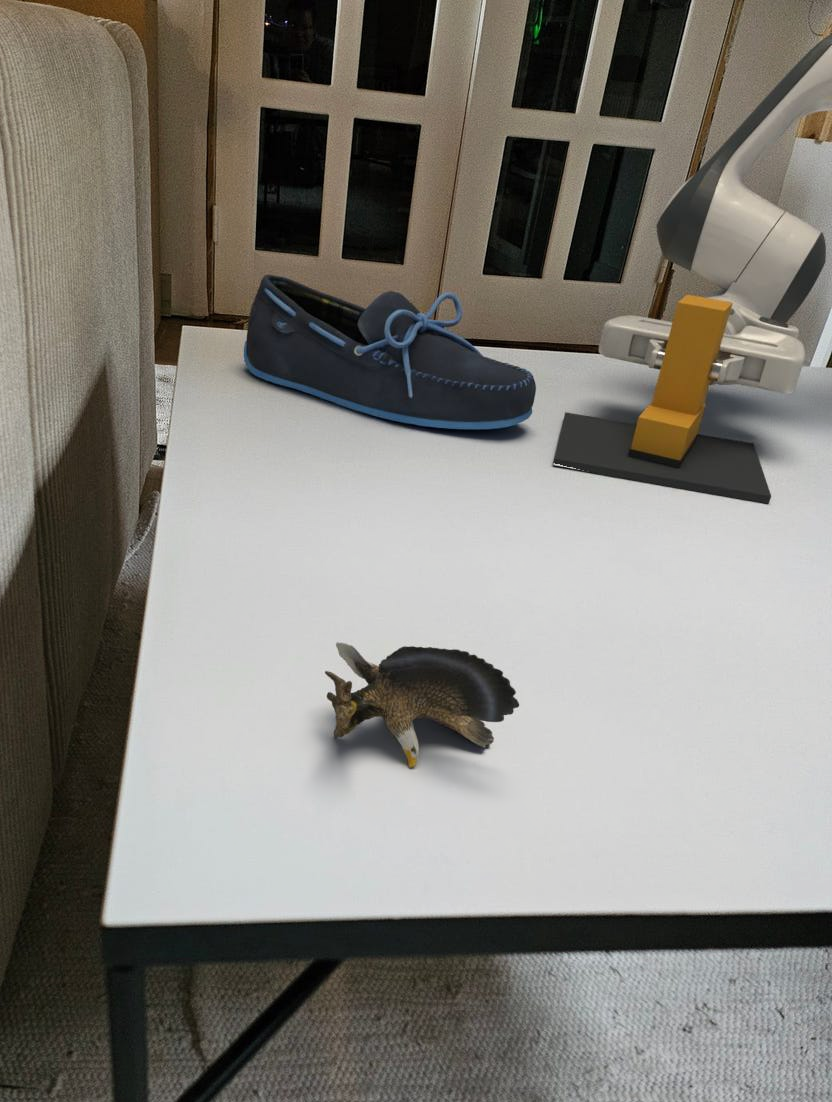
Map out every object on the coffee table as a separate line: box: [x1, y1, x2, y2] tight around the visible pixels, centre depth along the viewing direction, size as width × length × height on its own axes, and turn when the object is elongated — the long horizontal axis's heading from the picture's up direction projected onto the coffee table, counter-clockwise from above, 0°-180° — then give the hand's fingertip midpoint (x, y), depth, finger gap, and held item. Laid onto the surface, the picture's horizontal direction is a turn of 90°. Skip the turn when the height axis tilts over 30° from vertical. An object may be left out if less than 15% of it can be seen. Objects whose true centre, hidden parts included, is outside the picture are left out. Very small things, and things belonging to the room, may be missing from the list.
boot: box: [628, 294, 733, 468], centre depth 92 cm, size 10×5×14 cm, turn 153°
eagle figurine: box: [324, 642, 520, 768], centre depth 49 cm, size 8×7×9 cm
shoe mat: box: [552, 411, 772, 505], centre depth 95 cm, size 20×16×1 cm
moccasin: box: [243, 274, 537, 430], centre depth 100 cm, size 14×34×12 cm, turn 65°
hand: (687, 366), depth 92 cm, fingers closed on boot, 4 cm apart
